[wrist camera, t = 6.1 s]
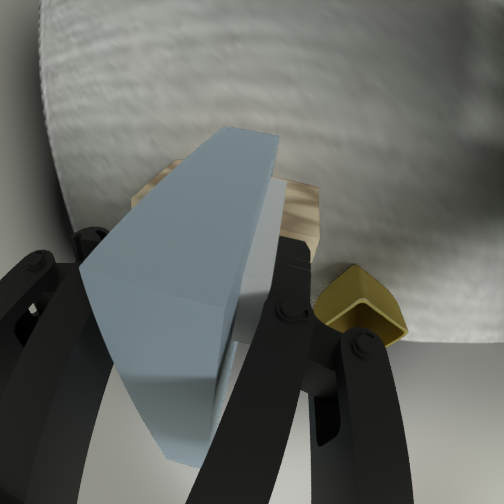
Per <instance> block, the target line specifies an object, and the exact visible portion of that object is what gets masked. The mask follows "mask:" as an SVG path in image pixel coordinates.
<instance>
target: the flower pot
mask: <svg viewBox="0 0 504 504" xmlns="http://www.w3.org/2000/svg"><path fill="white" fill-rule="evenodd" d="M313 311H314V314H315V315H316V317H317V318H318V319H319V320H320V321H321V322H322V323H324V324H326V325H327V326H329V327H331V328H333V329H335V330H337V331H340V332H342V333H344V332H345V331H346V330H348V329H350V328H353V327H362V328H366V329H369V330H371V331H372V332H374V333H376V334H377V335H378V336H379V337H380V338H381V339H382V341H383V343H384V345H385V347H388V346H390V345H391V344H393V343H395V342H396V341H398V340H400V339H401V338H403V337H404V336H405V335H406V334H408V329H407V327H406V324H405V321H404V318H403V316H402V313H401V310H400V308H399V305H398V303H397V301H396V300H395V298H394V297H393V295H392V294H391V293H390V292H389V291H388V290H387V289H386V288H385V287H384V286H383V285H382V284H381V283H380V282H378V281H377V280H376V279H374V278H373V277H372V276H371V275H369V274H368V273H367V272H366V271H364V270H363V269H362V268H361V267H360V266H358V265H356V264H355V265H352V266H351V267H350V268H349V269H348V270H346V271H345V272H344V273H343V274H342V275H340V276H339V277H338V278H337V279H335V280H334V281H333V282H332V283H331V284H330V285H329V286H328V287H327V288H326V289H325V290H324V291H323V292H322V293H321V295H320V296H319V298H318V299H317V301H316V303H315V306H314V308H313Z"/></svg>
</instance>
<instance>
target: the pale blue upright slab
mask: <svg viewBox="0 0 504 504" xmlns="http://www.w3.org/2000/svg"><path fill="white" fill-rule="evenodd" d="M279 137H280V136H277V135H272V134H267V133H261V132H256V131H251V130H245V129H239V128H233V127H226V126H224V127H223V128H222V129H220V130H219V131H218V132H217V133H215V134H214V135H213V136H212V137H210V138H209V139H208V140H207V141H206V142H204V143H203V144H202V145H201V146H200V147H198V148H197V149H196V150H195V151H194V152H193V153H191V154H190V155H189V156H188V157H187V158H186V159H184V160H183V161H182V162H181V163H180V164H179V165H178V166H177V167H175V168H174V169H173V170H172V171H171V172H170V173H169V174H168V175H167V176H166V177H165V178H163V179H162V180H161V181H160V182H159V183H158V184H157V185H156V186H155V187H154V188H153V189H152V190H151V191H150V192H149V193H148V194H147V195H146V196H145V197H144V198H142V199H141V200H140V201H139V202H138V203H137V204H136V205H135V206H134V207H133V208H132V209H131V210H130V212H129V213H128V214H127V215H126V216H125V217H124V218H123V219H122V220H121V221H120V222H119V223H118V224H117V225H116V226H115V227H114V228H113V229H112V230H111V231H110V232H109V234H108V235H107V236H106V237H105V238H104V239H103V240H102V241H101V242H100V243H99V245H98V246H97V247H96V248H95V249H94V250H93V251H92V252H91V254H90V255H89V256H88V257H87V258H86V259H85V261H84V262H83V263H82V264H81V265H80V266H79V270H80V274H81V277H82V280H83V284H84V287H85V290H86V293H87V296H88V299H89V302H90V305H91V308H92V310H93V313H94V316H95V319H96V321H97V324H98V326H99V329H100V332H101V334H102V337H103V339H104V341H105V344H106V346H107V349H108V351H109V353H110V355H111V358H112V360H113V362H114V364H115V367H116V369H117V371H118V373H119V375H120V377H121V379H122V381H123V383H124V385H125V387H126V389H127V391H128V393H129V395H130V397H131V399H132V401H133V403H134V405H135V407H136V409H137V410H138V412H139V414H140V416H141V418H142V419H143V421H144V423H145V424H146V426H147V428H148V429H149V431H150V433H151V435H152V436H153V438H154V439H155V441H156V442H157V444H158V446H159V447H160V449H161V451H162V452H163V454H164V455H165V457H166V458H167V459H168V460H172V461H175V462H178V463H182V464H185V465H189V466H193V467H197V468H200V469H201V466H202V464H203V462H204V459H205V457H206V455H207V452H208V450H209V448H210V445H211V443H212V440H213V438H214V436H215V433H216V430H217V426H218V421H219V417H220V413H221V409H222V405H223V401H224V397H225V393H226V389H227V385H228V381H229V377H230V373H231V369H232V364H233V361H234V357H235V352H236V348H237V344H238V342H237V341H232V334H233V329H234V323H235V317H236V312H237V306H238V300H239V295H240V289H241V283H242V278H243V274H244V271H245V267H246V263H247V260H248V256H249V253H250V249H251V246H252V242H253V239H254V235H255V232H256V228H257V224H258V221H259V217H260V214H261V210H262V207H263V203H264V200H265V196H266V193H267V189H268V186H269V182H270V179H271V177H272V172H273V167H274V162H275V157H276V152H277V147H278V142H279Z"/></svg>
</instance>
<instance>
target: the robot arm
mask: <svg viewBox="0 0 504 504" xmlns="http://www.w3.org/2000/svg"><path fill="white" fill-rule="evenodd" d="M286 186H287V181H285V180H280V179H276V178H271V179H270V182H269V186H268V189H267V193H266V196H265V200H264V203H263V207H262V210H261V214H260V217H259V221H258V224H257V228H256V232H255V235H254V239H253V242H252V246H251V249H250V253H249V256H248V260H247V263H246V267H245V271H244V274H243V278H242V283H241V289H240V295H239V300H238V306H237V312H236V317H235V323H234V329H233V334H232V341H237V342H241V343H245V344H250V348H249V350H248V353H247V355H246V358H245V361H244V363H243V366H242V368H241V371H240V374H239V376H238V379H237V381H236V384H235V386H234V389H233V391H232V394H231V396H230V399H229V402H228V404H227V406H226V409H225V411H224V414H223V416H222V419H221V421H220V424H219V426H218V428H217V431H216V433H215V436H214V438H213V440H212V443H211V445H210V448H209V450H208V452H207V455H206V457H205V459H204V462H203V464H202V466H201V469H200V471H199V473H198V476H197V478H196V480H195V483H194V485H193V487H192V489H191V492H190V494H189V496H188V499H187V501H186V503H185V504H268V503H269V500H270V497H271V494H272V491H273V488H274V485H275V482H276V479H277V475H278V472H279V469H280V465H281V462H282V458H283V455H284V452H285V448H286V445H287V441H288V437H289V433H290V430H291V426H292V422H293V418H294V414H295V410H296V406H297V402H298V398H299V394H300V390H302V391H304V392H307V393H308V399H309V419H310V444H311V445H310V446H311V497H312V498H311V504H414V500H413V489H412V480H411V472H410V463H409V456H408V450H407V444H406V438H405V432H404V426H403V421H402V416H401V411H400V405H399V401H398V396H397V392H396V387H395V383H394V378H393V374H392V371H391V366H390V363H389V358H388V354H387V351H386V347H385V345H384V343H383V341H382V339H381V338H380V337H379V336H378V335H377V334H376V333H374V332H372V331H371V330H369V329H366V328H362V327H353V328H350V329H348V330H346V331H345V332H344V333H342V332H340V331H337V330H335V329H333V328H331V327H329V326H327V325H326V324H324V323H322V322H321V321H320V320H319V319H318V318H317V317H316V315H315V314H314V311H313V309H312V307H311V304H310V283H311V271H310V270H311V263H310V261H311V251H310V249H309V247H308V246H307V244H306V242H305V241H302V240H297V239H293V238H289V237H284V236H280V235H279V233H280V226H281V220H282V213H283V206H284V199H285V193H286ZM108 234H109V231H108V230H107V229H105V228H101V227H88V228H84V229H82V230H80V231H78V232H76V233H75V234H73V235H72V236H71V242H72V245H73V250H74V253H75V257H76V261H75V263H56V262H55V259H54V256H53V254H52V253H51V252H50V251H47V250H37V251H35V252H32V253H30V254H29V255H27V256H26V257H24V258H23V259H22V260H21V261H20V262H19V263H18V264H17V265H16V266H15V267H13V268H12V269H11V270H10V271H9V272H8V273H7V274H6V275H5V276H4V277H3V278H2V279H1V280H0V504H77V499H78V493H79V488H80V484H81V479H82V474H83V469H84V465H85V460H86V456H87V452H88V448H89V444H90V440H91V436H92V433H93V429H94V425H95V421H96V418H97V415H98V411H99V407H100V404H101V401H102V397H103V394H104V391H105V388H106V385H107V382H108V379H109V376H110V373H111V369H112V367H113V364H114V362H113V360H112V358H111V355H110V353H109V351H108V349H107V346H106V344H105V341H104V339H103V337H102V334H101V332H100V329H99V326H98V324H97V321H96V319H95V316H94V313H93V310H92V308H91V305H90V302H89V299H88V296H87V293H86V290H85V287H84V284H83V280H82V277H81V274H80V270H79V266H80V265H81V264H82V263H83V262H84V261H85V259H86V258H87V257H88V256H89V255H90V254H91V252H92V251H93V250H94V249H95V248H96V247H97V246H98V245H99V243H100V242H101V241H102V240H103V239H104V238H105V237H106V236H107V235H108ZM33 303H34V305H35V307H36V309H37V311H36V312H35V313H30V311H29V309H28V308H29V307H30V306H31V305H32V304H33Z"/></svg>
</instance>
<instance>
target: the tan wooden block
mask: <svg viewBox="0 0 504 504" xmlns="http://www.w3.org/2000/svg"><path fill="white" fill-rule="evenodd" d="M182 161H183V160H175V161H174V162H173V163H171V164H170V165H169V166H168V167H166V168H165V169H164V170H163V171H162V172H160V173H159V174H158V175H157V176H156V177H154V178H153V179H152V180H151V181H150V182H149V183H148V184H146V185H145V186H144V187H143V188H142V189H141V190H140V191H138V192H137V193H136V194H135V195H134V196H133V197H132V198H131V208H133V207H134V206H135V205H136V204H137V203H138V202H139V201H140V200H141V199H142V198H144V197H145V196H146V195H147V194H148V193H149V192H150V191H151V190H152V189H153V188H154V187H155V186H156V185H157V184H158V183H159V182H160V181H161V180H162V179H163V178H165V177H166V176H167V175H168V174H169V173H170V172H171V171H172V170H173V169H174V168H175V167H177V166H178V165H179V164H180V163H181V162H182ZM271 178H276V177H271ZM276 179H280V180H285V179H281V178H276ZM285 181H287V186H286V193H285V199H284V206H283V213H282V220H281V226H280V233H279V235H280V236H284V237H289V238H293V239H297V240H302V241H305V242H306V244H307V246H308V247H309V249H310V251H311V261H310V263H312V261H313V258H314V255H315V252H316V249H317V246H318V243H319V240H320V222H319V196H318V187H315V186H311V185H307V184H303V183H298V182H294V181H290V180H285Z"/></svg>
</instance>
